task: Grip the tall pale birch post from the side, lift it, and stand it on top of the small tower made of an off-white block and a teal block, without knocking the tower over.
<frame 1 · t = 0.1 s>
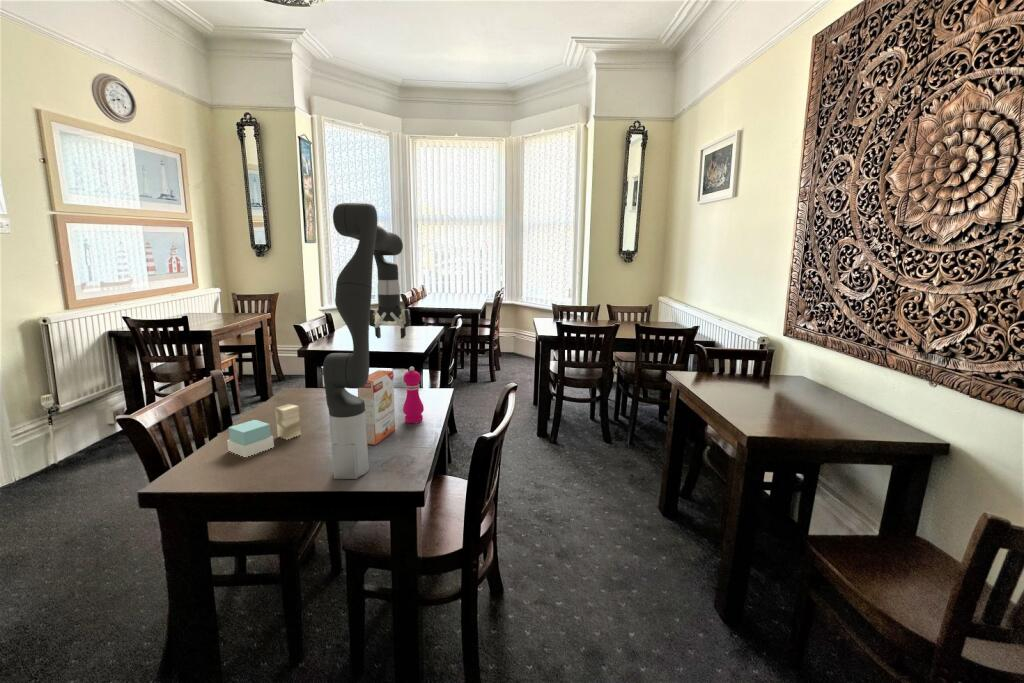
hand: (390, 338, 168), 29 cm above the table, tool pointing down, fingers open, 8 cm apart
pepper mill: (413, 421, 168), on the table
tower base: (251, 450, 144), on the table, touching tower top
cracker box: (379, 437, 154), on the table
birch post: (289, 436, 154), on the table
tower top: (250, 438, 143), point 4 cm above the table, touching tower base
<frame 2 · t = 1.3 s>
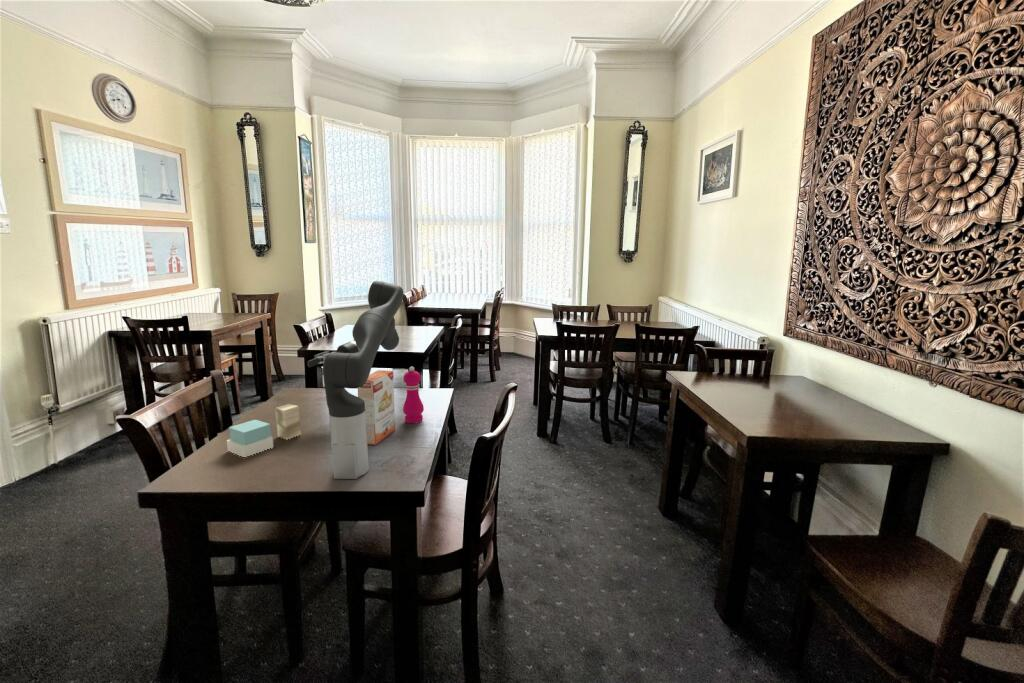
hand: (316, 366, 160), 21 cm above the table, tool horizontal, fingers open, 8 cm apart
nothing on the table moved.
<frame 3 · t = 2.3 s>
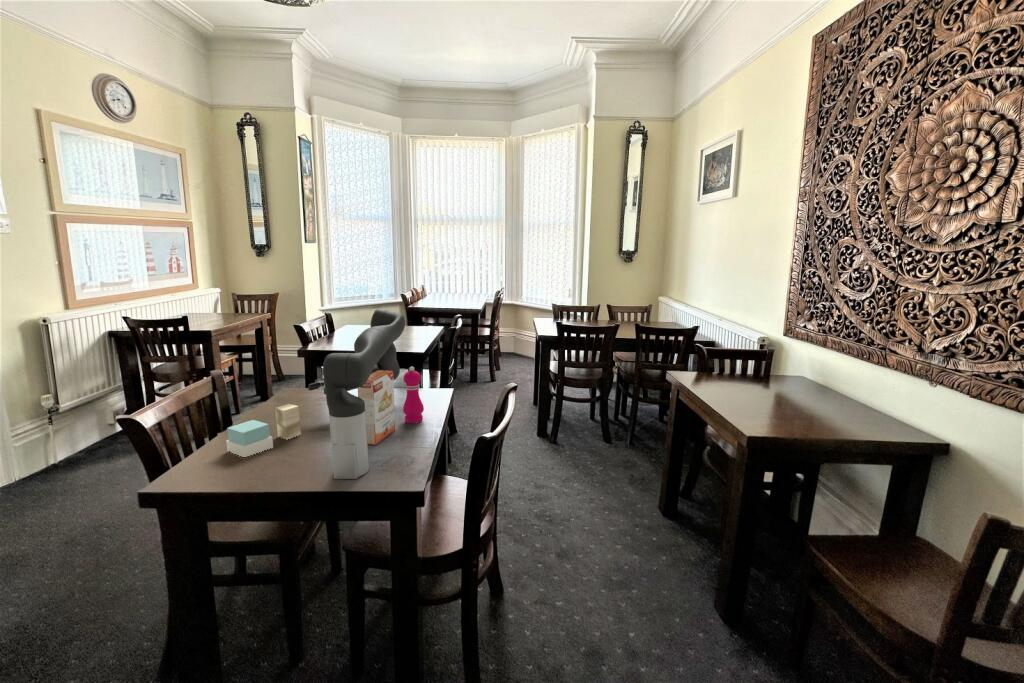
hand: (316, 389, 161), 13 cm above the table, tool horizontal, fingers open, 8 cm apart
tower base: (250, 450, 144), on the table
tower top: (249, 438, 143), point 4 cm above the table
everything else where it was.
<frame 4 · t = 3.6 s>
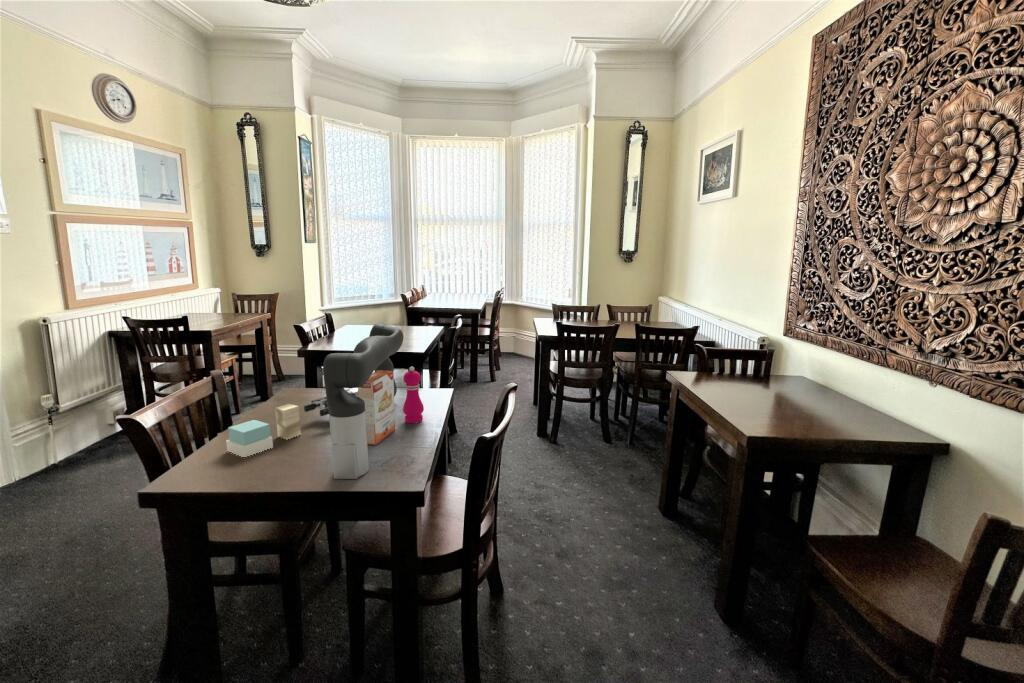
hand: (312, 411, 161), 6 cm above the table, tool horizontal, fingers open, 8 cm apart
tower base: (250, 450, 144), on the table, touching tower top
tower top: (250, 438, 143), point 4 cm above the table, touching tower base
everything else where it was.
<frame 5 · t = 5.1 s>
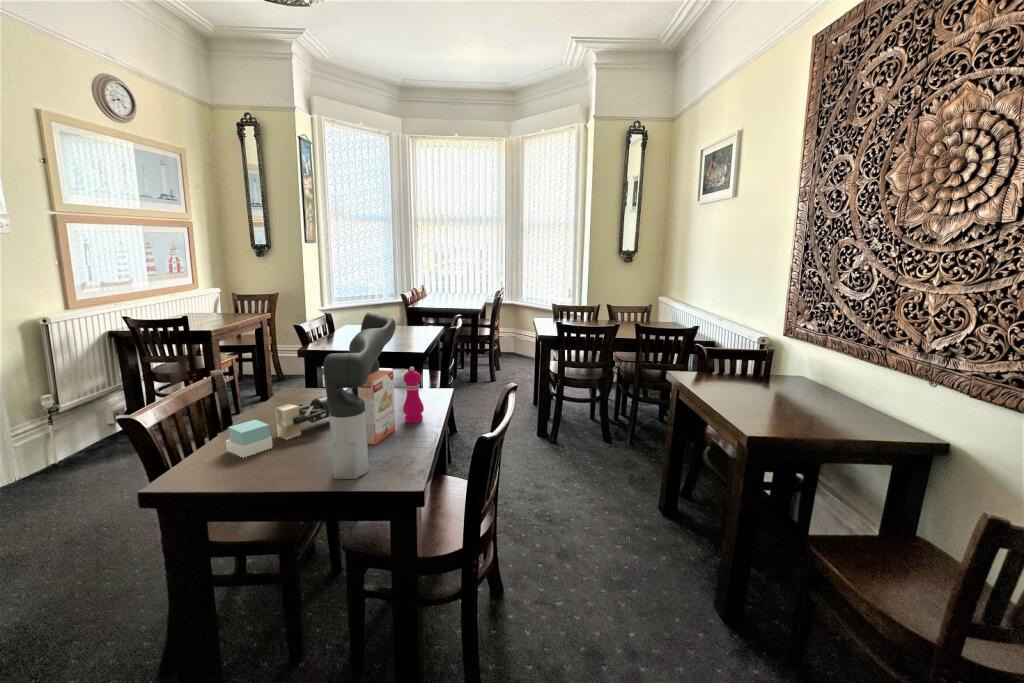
hand: (285, 419, 152), 6 cm above the table, tool horizontal, fingers open, 8 cm apart
nothing on the table moved.
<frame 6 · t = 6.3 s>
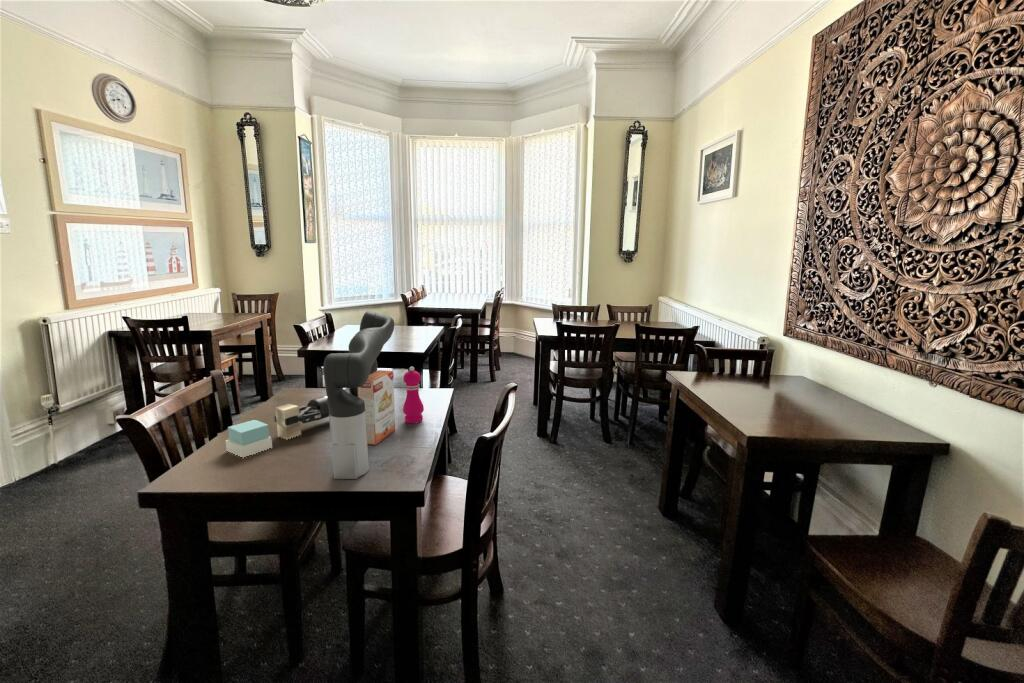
hand: (280, 420, 151), 6 cm above the table, tool horizontal, fingers closed on birch post, 5 cm apart
birch post: (289, 436, 154), on the table, touching gripper
everything else where it was.
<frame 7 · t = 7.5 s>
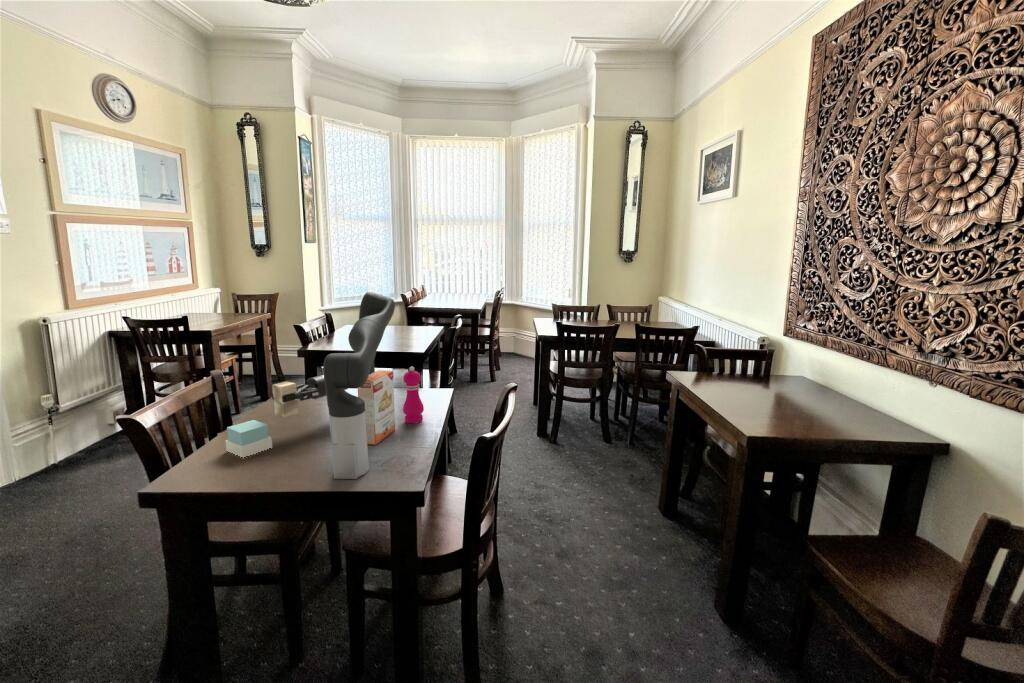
hand: (277, 397, 149), 14 cm above the table, tool horizontal, fingers closed on birch post, 5 cm apart
tower base: (249, 450, 143), on the table
birch post: (286, 413, 152), point 8 cm above the table, touching gripper
tower top: (248, 438, 143), point 4 cm above the table
everything else where it was.
when the fingers open (16 cm above the table, at t = 9.7 s): birch post drops 2 cm, point 8 cm above the table.
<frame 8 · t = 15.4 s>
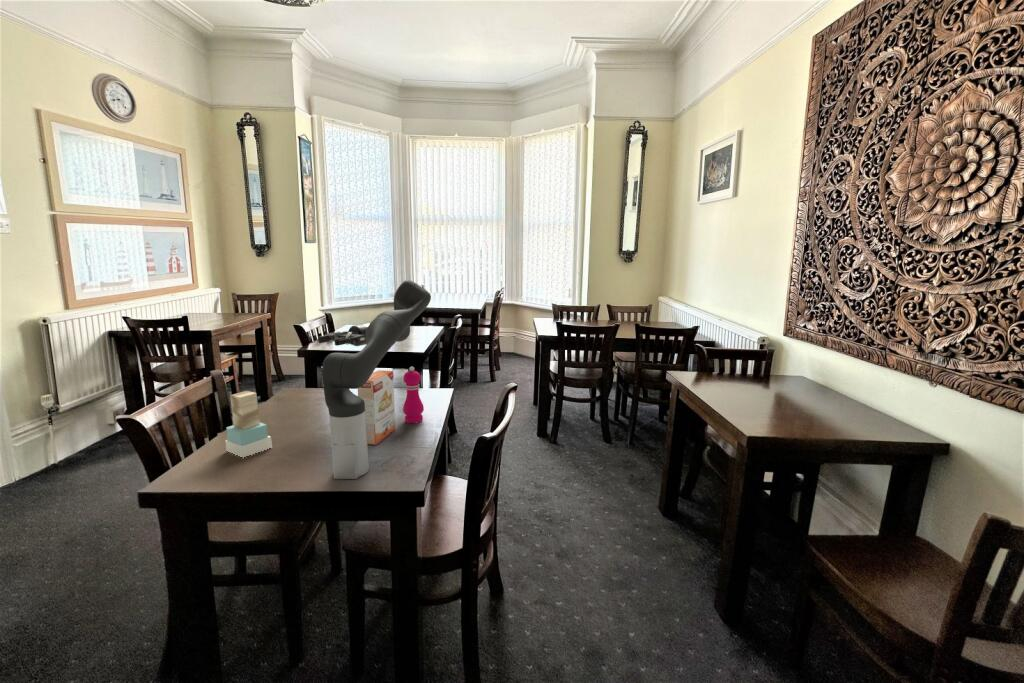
hand: (326, 341, 158), 30 cm above the table, tool horizontal, fingers open, 8 cm apart
tower base: (249, 450, 143), on the table, touching tower top
birch post: (247, 425, 142), point 8 cm above the table
tower top: (248, 438, 143), point 4 cm above the table, touching tower base
everything else where it was.
at the end: birch post 0.3 cm off-centre on the tower top, point 4.0 cm above the tower top's base; birch post tilted 1°; tower top 0.1 cm off-centre on the tower base, point 4.0 cm above the tower base's base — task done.
